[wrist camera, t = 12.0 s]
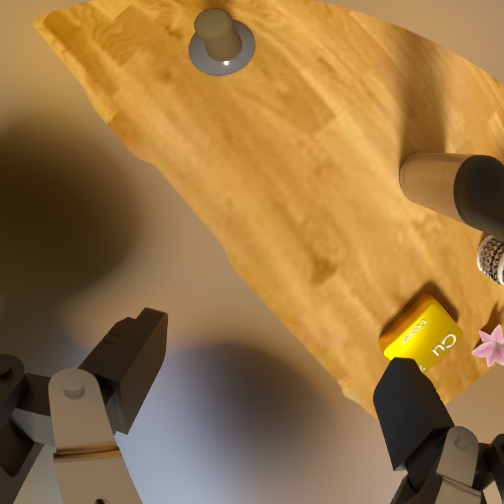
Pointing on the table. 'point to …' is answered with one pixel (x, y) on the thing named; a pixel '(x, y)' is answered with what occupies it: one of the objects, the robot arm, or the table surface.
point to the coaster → (226, 67)
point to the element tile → (421, 334)
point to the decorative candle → (491, 258)
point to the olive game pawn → (218, 34)
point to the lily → (491, 347)
